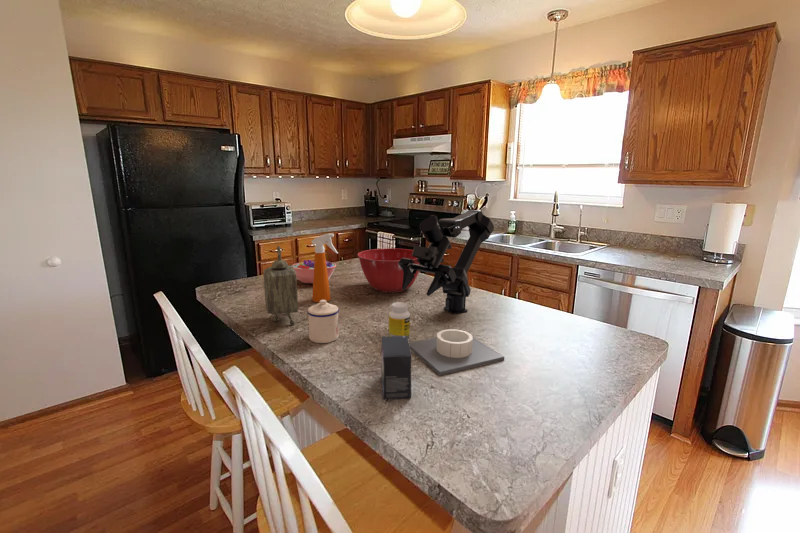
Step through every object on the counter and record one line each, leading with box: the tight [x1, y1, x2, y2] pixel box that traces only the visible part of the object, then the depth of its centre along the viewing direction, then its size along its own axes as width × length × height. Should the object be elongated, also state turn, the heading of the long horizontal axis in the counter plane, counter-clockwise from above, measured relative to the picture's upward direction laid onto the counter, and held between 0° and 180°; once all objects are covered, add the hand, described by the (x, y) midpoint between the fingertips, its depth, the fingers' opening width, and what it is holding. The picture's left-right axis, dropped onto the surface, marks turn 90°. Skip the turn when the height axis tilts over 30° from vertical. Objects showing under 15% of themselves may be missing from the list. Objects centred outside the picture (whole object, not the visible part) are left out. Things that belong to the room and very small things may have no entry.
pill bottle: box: [388, 301, 411, 342], centre depth 112 cm, size 6×6×11 cm
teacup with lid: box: [307, 300, 340, 344], centre depth 114 cm, size 12×9×12 cm
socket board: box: [409, 328, 505, 377], centre depth 105 cm, size 20×18×5 cm
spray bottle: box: [310, 232, 339, 303], centre depth 145 cm, size 7×11×26 cm, turn 80°
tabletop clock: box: [262, 245, 299, 326], centre depth 124 cm, size 14×9×25 cm, turn 23°
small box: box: [380, 335, 413, 401], centre depth 87 cm, size 11×6×10 cm, turn 5°
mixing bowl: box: [357, 248, 420, 294], centre depth 164 cm, size 28×28×16 cm
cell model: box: [291, 259, 337, 285], centre depth 172 cm, size 17×20×11 cm
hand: (414, 292), depth 116 cm, fingers open, 9 cm apart
